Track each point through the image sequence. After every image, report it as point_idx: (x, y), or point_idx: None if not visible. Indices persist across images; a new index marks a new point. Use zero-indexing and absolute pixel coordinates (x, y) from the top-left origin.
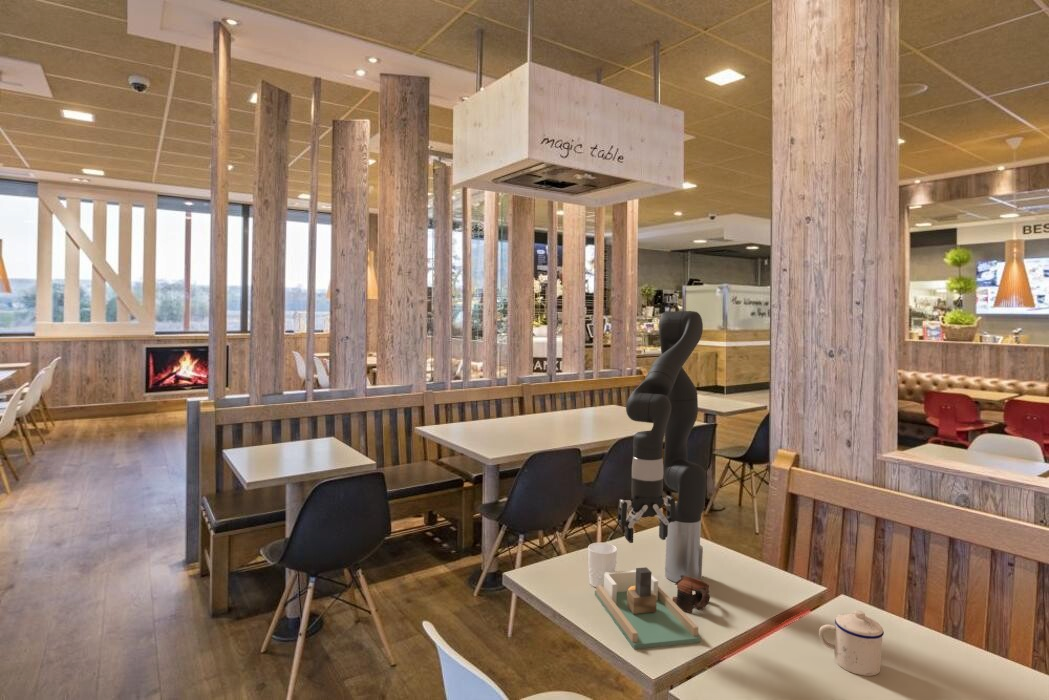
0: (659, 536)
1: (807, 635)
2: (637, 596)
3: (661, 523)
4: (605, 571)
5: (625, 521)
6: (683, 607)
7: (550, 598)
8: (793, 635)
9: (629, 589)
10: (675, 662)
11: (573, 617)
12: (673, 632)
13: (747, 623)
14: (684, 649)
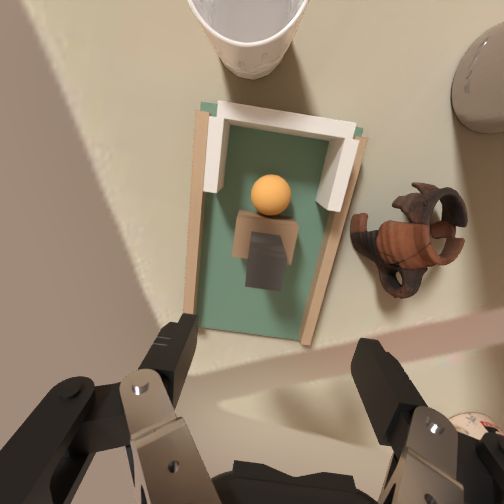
0: (362, 341)
1: (484, 369)
2: (243, 254)
3: (396, 422)
4: (238, 67)
5: (82, 470)
6: (357, 248)
7: (80, 84)
8: (464, 363)
9: (256, 194)
10: (232, 362)
11: (115, 194)
12: (272, 316)
13: (431, 316)
14: (266, 343)
